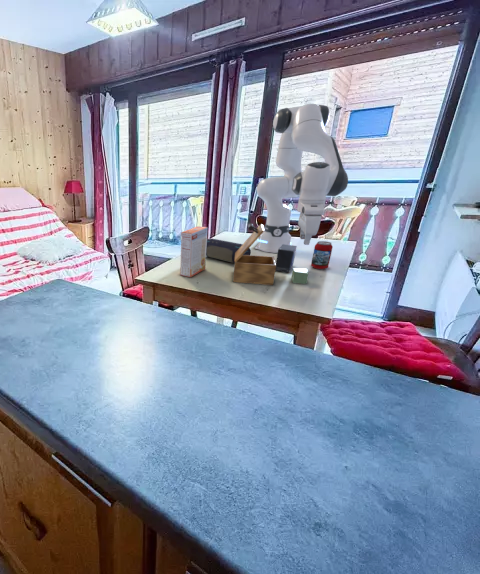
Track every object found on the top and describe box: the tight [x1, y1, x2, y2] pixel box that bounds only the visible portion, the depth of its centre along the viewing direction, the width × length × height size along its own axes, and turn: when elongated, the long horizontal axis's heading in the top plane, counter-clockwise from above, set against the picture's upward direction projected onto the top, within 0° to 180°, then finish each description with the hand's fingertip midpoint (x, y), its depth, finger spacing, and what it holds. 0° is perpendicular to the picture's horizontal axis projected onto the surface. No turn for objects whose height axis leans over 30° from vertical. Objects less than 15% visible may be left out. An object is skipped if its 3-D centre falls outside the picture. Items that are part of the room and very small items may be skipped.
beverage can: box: [310, 240, 333, 270], centre depth 150 cm, size 7×7×12 cm
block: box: [290, 267, 310, 285], centre depth 138 cm, size 5×5×5 cm
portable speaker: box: [206, 238, 252, 264], centre depth 169 cm, size 25×10×10 cm, turn 36°
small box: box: [275, 244, 297, 273], centre depth 152 cm, size 11×6×10 cm, turn 143°
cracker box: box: [179, 225, 208, 278], centre depth 152 cm, size 14×6×21 cm, turn 134°
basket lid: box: [235, 222, 265, 262], centre depth 140 cm, size 17×13×5 cm
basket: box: [232, 254, 276, 286], centre depth 143 cm, size 16×13×9 cm
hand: (304, 241), depth 132 cm, fingers open, 8 cm apart
